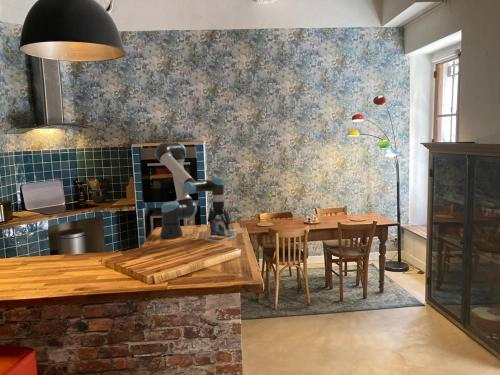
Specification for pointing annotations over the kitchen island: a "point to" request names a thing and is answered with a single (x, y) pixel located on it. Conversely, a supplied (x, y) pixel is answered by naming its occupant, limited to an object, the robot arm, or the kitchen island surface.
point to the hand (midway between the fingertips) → (219, 233)
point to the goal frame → (218, 240)
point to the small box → (217, 226)
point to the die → (232, 232)
